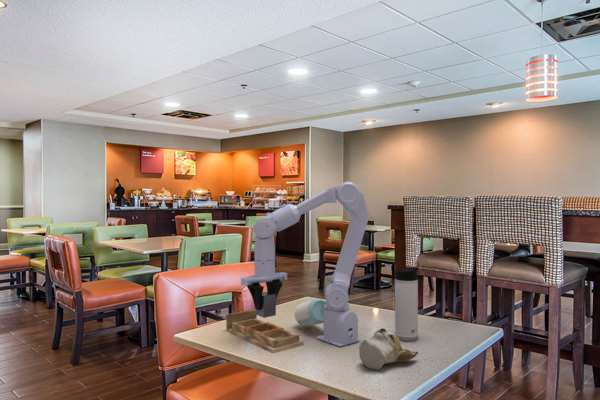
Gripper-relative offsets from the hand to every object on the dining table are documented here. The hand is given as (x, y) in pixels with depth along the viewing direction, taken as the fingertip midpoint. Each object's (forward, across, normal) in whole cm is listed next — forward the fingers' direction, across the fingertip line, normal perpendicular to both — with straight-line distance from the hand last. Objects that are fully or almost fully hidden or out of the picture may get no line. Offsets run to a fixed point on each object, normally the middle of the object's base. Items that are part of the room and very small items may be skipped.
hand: (264, 308), depth 122 cm
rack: (+9, 0, -1) cm, 9 cm away
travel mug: (+9, -31, +26) cm, 41 cm away
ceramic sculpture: (+9, -12, +33) cm, 36 cm away
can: (+5, -17, -3) cm, 18 cm away
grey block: (+2, 0, 0) cm, 2 cm away
